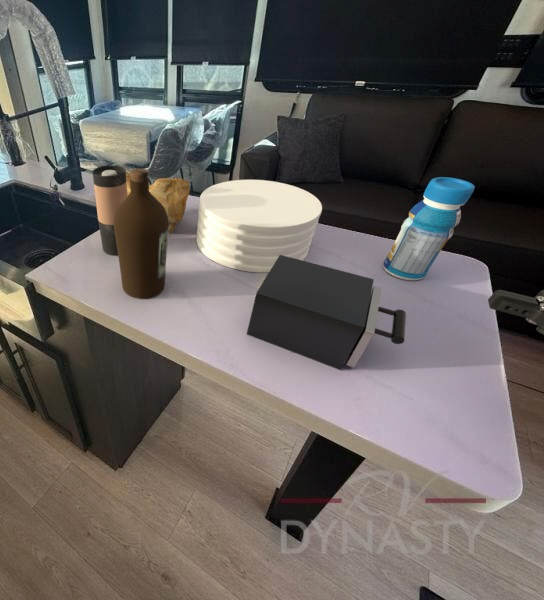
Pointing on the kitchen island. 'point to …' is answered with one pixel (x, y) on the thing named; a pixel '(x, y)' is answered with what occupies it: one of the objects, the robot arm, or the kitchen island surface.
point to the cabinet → (311, 310)
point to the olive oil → (141, 239)
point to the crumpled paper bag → (169, 197)
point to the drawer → (369, 329)
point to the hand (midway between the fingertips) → (492, 298)
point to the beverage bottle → (427, 228)
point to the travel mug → (109, 201)
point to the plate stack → (256, 223)
